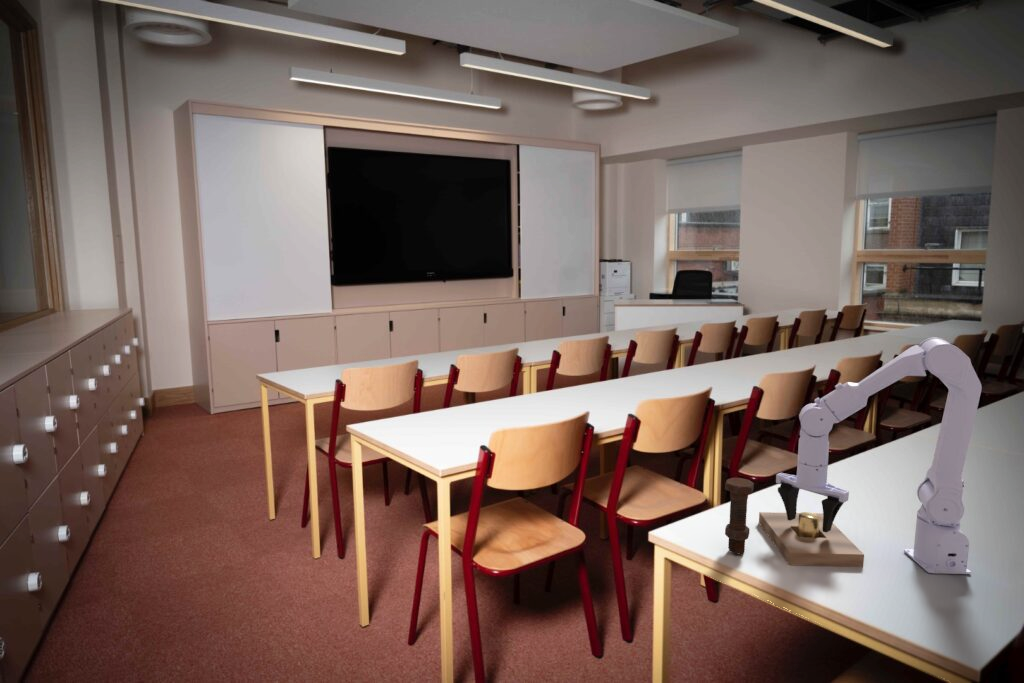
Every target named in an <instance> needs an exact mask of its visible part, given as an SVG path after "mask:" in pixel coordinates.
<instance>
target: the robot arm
mask: <svg viewBox="0 0 1024 683" xmlns="http://www.w3.org/2000/svg"><path fill="white" fill-rule="evenodd" d="M971 361H972V360H971V358H970V357H969V356H968V355H967V354H966V353H965V352H964V351H962V350H961V349H960V348H959V347H958V346H956V345H954V344H952V343H950V342H949V341H948V340H946V339H944V338H942V337H937V336H936V337H934V336H933V337H929V338H927V339H924V340H922V341H921V342H920V343H919V345H918V344H915V345H913V346H911V347H909V348H907V349H906V350H904V351H903V352H901V353H899V355H898V356H896V357H894V358H893V359H890V360H889V361H888V362H887V363H886V364H884V365H882V366H881V367H879V368H878V369H876V370H874V372H872V373H871V374H869V375H868V376H866V377H864V378H863V379H862V380H860V381H859V382H851V381H847V382H845V383H843V384H842V383H841V382H839V383H836V385H834V388H835V389H834V390H832V391H830V392H829V393H828V394H825V395H824V396H822V397H821V398H820V397H816V398H815V399H814V402H813V403H812V402H811V403H808V404H806V405H805V406H803V407H802V408H801V410H800V412H799V414H798V418H799V422H800V430H799V436H800V437H799V438H798V446H797V447H798V450H797V465H796V467H797V468H796V475H795V474H789V473H784V472H778V473H776V475H775V483H776V484H777V485H780V486H778V487H777V493H778V494H779V496H780V498H781V500H782V503H783V505H784V508H785V513H787V519H788V520H790V521H791V520H793V519H795V517H796V513H797V509H798V508H797V506H798V504H797V503H798V497H799V492H800V490H803V491H807V492H810V493H814V494H816V495H821V496H823V497H826V498H825V499H823V500H821V507H822V513H823V532H828V531H830V530H831V527H832V524H834V521H835V518H836V516H837V514H838V513H839V511H840V509H841V507H842V506H843V505H844V504H845V503H846V502H848V501H849V498H850V491H848V490H845V489H844V488H841V487H839V486H836V485H834V484H831V483H828V482H827V481H828V469H829V452H830V450H829V449H830V441H829V433H830V432H831V431H832V429H833V425H834V424H838V423H840V422H842V421H844V420H845V419H847V418H848V417H850V416H852V415H853V414H855V413H856V412H858V411H860V410H862V409H863V408H865V407H866V406H867V403H868V399H869V397H870V396H873V395H874V394H876V393H878V392H879V391H881V390H883V389H885V388H887V387H889V386H891V385H892V384H894V383H896V382H898V381H899V380H902V379H903V378H906V377H907V376H909V377H926V376H927V374H926V373H927V372H926V371H928V372H930V374H932V375H934V376H935V377H936V378H938V379H939V380H940V381H941V382H942V383H943V384H944V386H946V388H947V390H948V392H947V396H946V397H947V398H946V402H945V406H944V409H943V413H942V414H943V415H942V418H941V419H942V420H941V424H940V428H939V432H938V436H937V442H936V446H935V450H934V455H933V459H932V464H931V466H930V468H928V470H927V471H926V475H925V477H924V480H923V481H922V482H921V483H920V484H919V485H918V487H917V490H916V495H917V498H918V501H919V502H920V503H921V505H920V508H919V509H918V510H917V512H916V522H915V533H914V541H913V542H914V544H913V548H904V550H903V552H904V553H905V554H906V555H908V556H909V557H910V558H911V559H912V560H913V561H914V562H916V563H917V564H918V565H919V566H920V567H921V568H922V569H924V571H925V572H927V573H928V574H944V575H945V574H947V575H948V574H950V575H951V574H952V575H971V574H972V571H971V570H970V569H968V568H967V567H968V561H969V560H968V559H969V550H970V542H969V538H968V537H967V536H966V534H965V533H964V532H963V531H962V529H961V520H962V518H963V517H964V514H965V506H964V503H963V501H962V500H963V499H962V498H963V492H964V488H963V486H962V479H963V478H962V476H963V471H964V466H965V462H966V458H967V453H968V450H969V445H970V441H971V436H972V433H973V428H974V424H975V419H976V416H977V411H978V407H979V403H980V397H981V393H982V388H983V387H982V385H983V384H982V383H981V380H980V378H979V377H978V374H977V373H976V371H975V369H974V366H973V365H972V362H971Z"/></svg>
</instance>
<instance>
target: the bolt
mask: <svg viewBox="0 0 1024 683" xmlns="http://www.w3.org/2000/svg"><path fill="white" fill-rule="evenodd" d="M754 487H755V483H754V482H753V481H751V480H750V479H746V478H742V477H731V478H728V479H726V481H725V485H724V489H725V490H726V491H727V492H729V494H730V495H729V497H730V503H729V504H730V506H729V522H728V523H727V524H726V526H725V531H724V535H725V536H726V537H727V538H728V545H727V546H728V550H729V552H730V551H731V552H730V553H731V554H732V555H734V556H738V555H739V556H741V554H742V555H744V554H745V548H746V547H745V546H746V540H748V539H749V537H750V527H748V526H747V512H748V509H747V508H748V499H749V494H750V495H751V494H753V491H754V490H755V488H754Z"/></svg>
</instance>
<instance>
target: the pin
mask: <svg viewBox="0 0 1024 683" xmlns="http://www.w3.org/2000/svg"><path fill="white" fill-rule="evenodd" d="M799 513H800V514H799V522H798V536H799V537H807V538H818V537H819V523H820V517H819V516H818V515H816V514H813V513H814V512H799Z"/></svg>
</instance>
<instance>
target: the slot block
mask: <svg viewBox="0 0 1024 683" xmlns="http://www.w3.org/2000/svg"><path fill="white" fill-rule="evenodd" d="M758 513H759V514H758V524H759V523H760V524H761V525H760V524H759V525H760V527H761V528H762V527H763V528H764V529H763V528H762V529H763V531H764V530H765V531H766V532H765V531H764V532H765V533H766V534H768V535H769V536H768V535H767V536H768V537H769V539H770V538H771V539H770V540H771V542H772V543H773V542H774V543H773V544H774V545H776V546H775V547H776V548H777V549H779V550H778V551H779V552H780V554H781V555H782V557H783V558H784V559H785V561H786V562H787V564H788V565H789V566H812V567H813V566H815V567H816V566H817V567H820V566H821V567H858V568H859V567H864V561H865V553H864V552H862V551H861V550H860V549H859V548H858V547H857V546H856V545H855V544H854V543H853V542H852V541H851V540H850V539H849V538H848V537H847V536H846V535H845V534H844V532H842V531H841V529H839V528H838V526H837V525H835V524H834V523H833V524H832V527H831V530H830V531H828V532H823V512H821V513H818V512H817V513H816V512H815V513H814V512H812V513H813V514H816V515H818V516H819V517H820V523H819V537H818V538H807V537H799V536H798V522H799V514H800V513H801V512H796V517H795V519H793V520H791V521H790V520H788V519H787V513H786V512H767V511H766V512H765V511H763V512H762V511H760V512H758Z"/></svg>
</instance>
